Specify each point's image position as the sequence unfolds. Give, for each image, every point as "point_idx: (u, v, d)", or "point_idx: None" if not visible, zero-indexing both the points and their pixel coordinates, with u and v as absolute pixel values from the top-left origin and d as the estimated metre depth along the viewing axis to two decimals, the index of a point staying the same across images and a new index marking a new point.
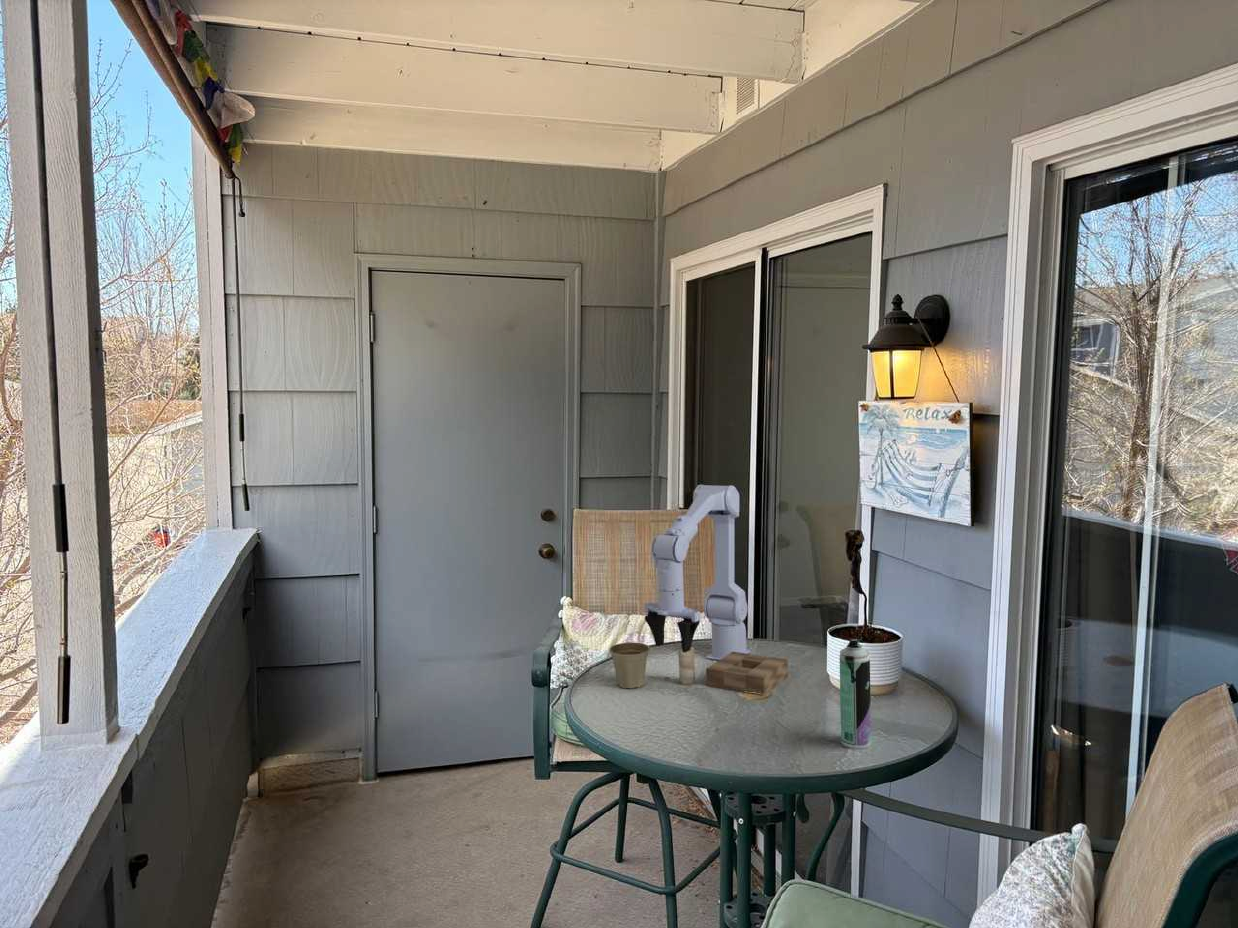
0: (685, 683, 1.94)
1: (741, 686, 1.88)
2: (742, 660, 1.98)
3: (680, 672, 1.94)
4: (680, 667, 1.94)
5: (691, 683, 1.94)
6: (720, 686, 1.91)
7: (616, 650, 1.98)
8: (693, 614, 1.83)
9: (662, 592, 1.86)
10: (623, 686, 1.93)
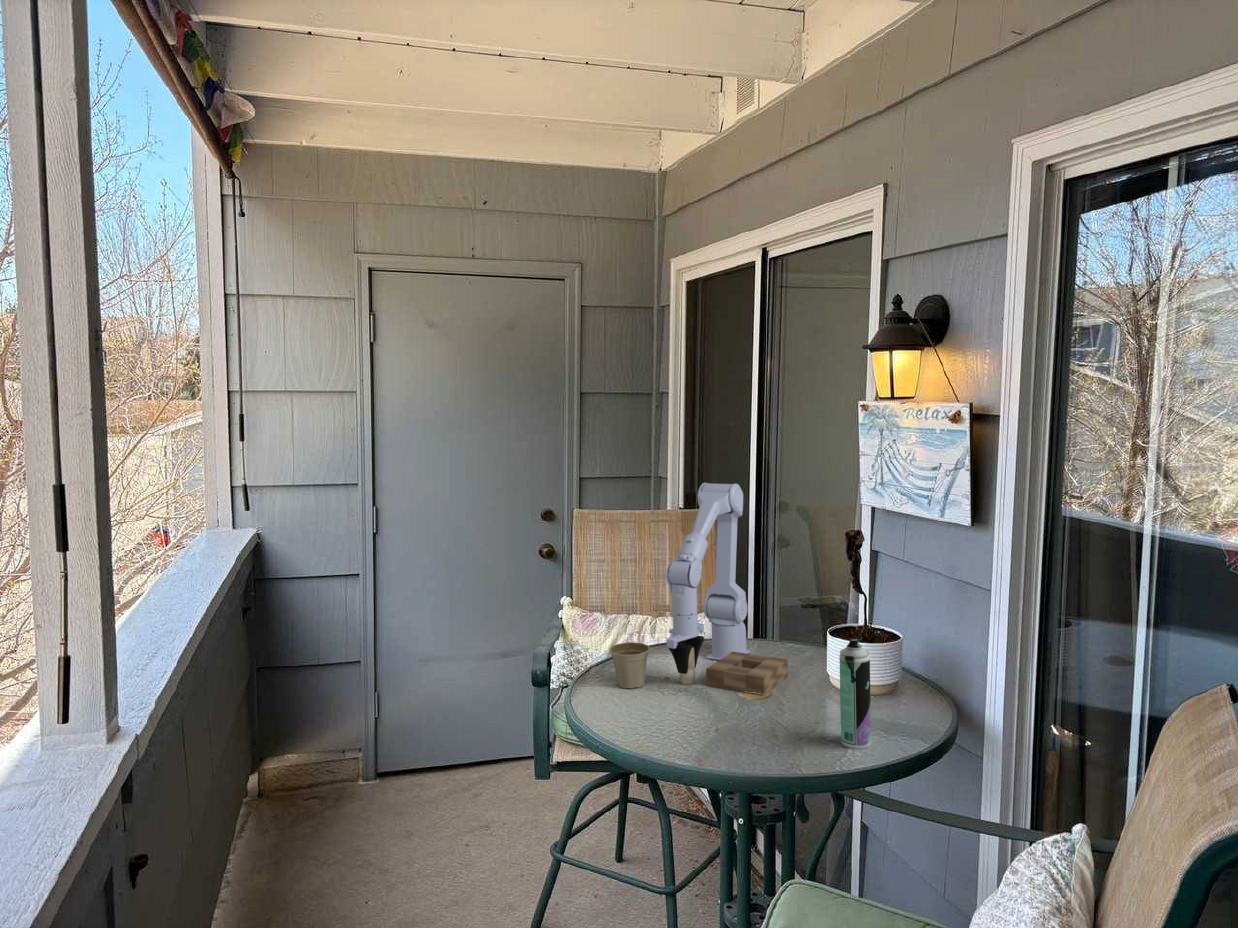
0: (685, 683, 1.94)
1: (741, 686, 1.88)
2: (742, 660, 1.98)
3: None
4: None
5: (691, 683, 1.94)
6: (720, 686, 1.91)
7: (616, 650, 1.98)
8: None
9: None
10: (623, 686, 1.93)
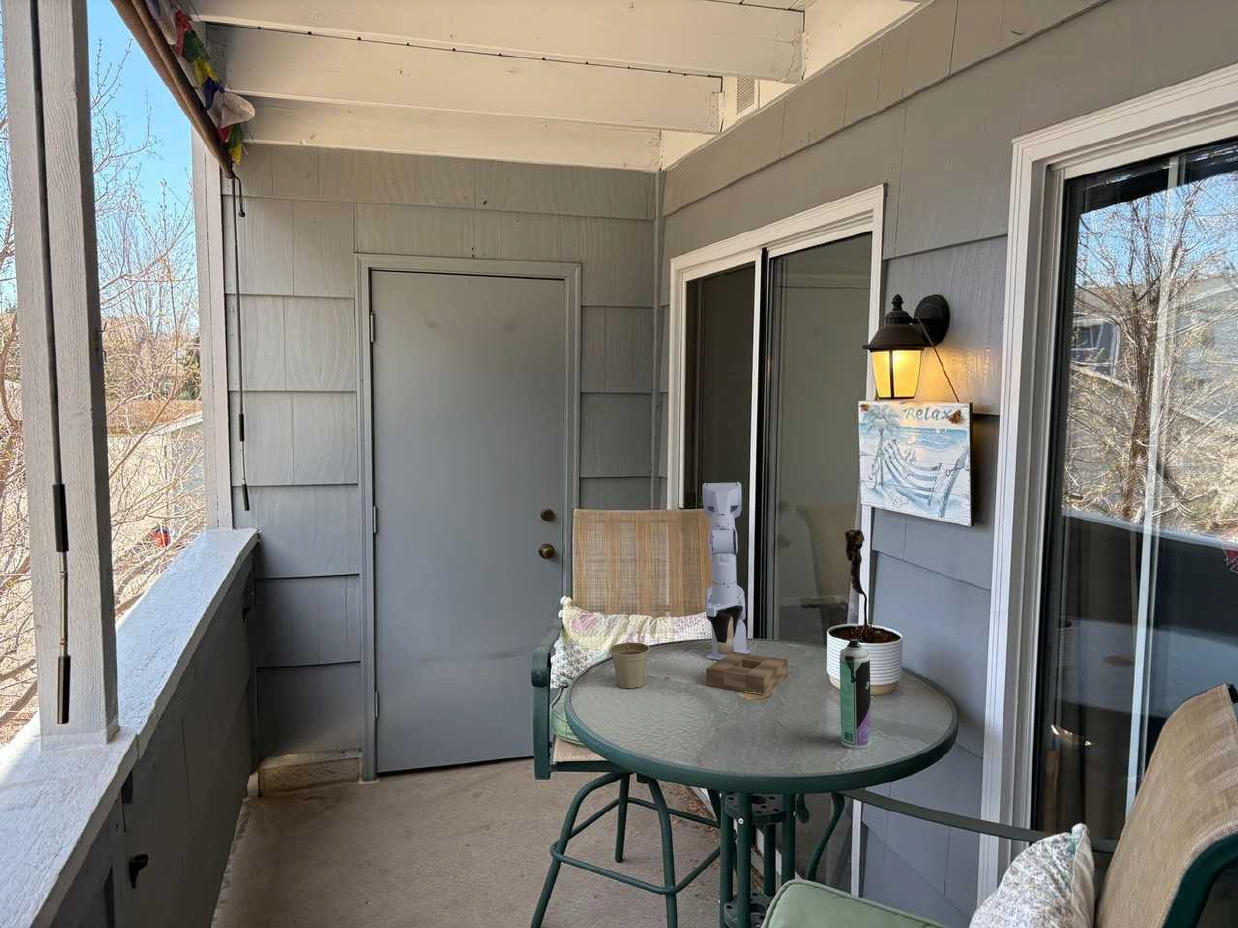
0: (724, 652, 1.93)
1: (741, 686, 1.88)
2: (742, 660, 1.98)
3: None
4: None
5: (730, 652, 1.93)
6: (720, 686, 1.91)
7: (616, 650, 1.98)
8: None
9: None
10: (623, 686, 1.93)
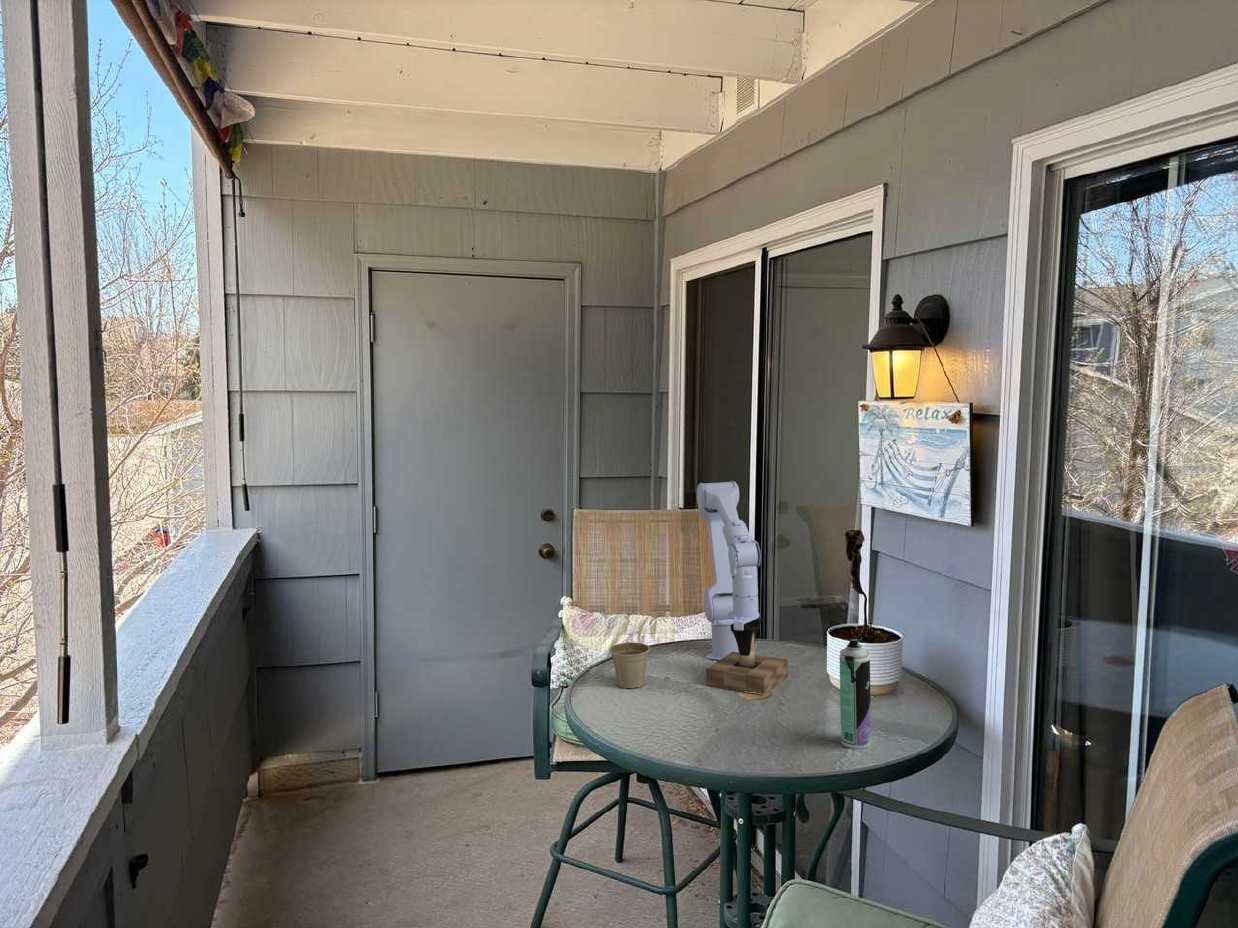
0: (747, 665, 1.93)
1: (741, 686, 1.88)
2: None
3: None
4: None
5: (753, 665, 1.93)
6: (720, 686, 1.91)
7: (616, 650, 1.98)
8: (734, 622, 1.87)
9: None
10: (623, 686, 1.93)
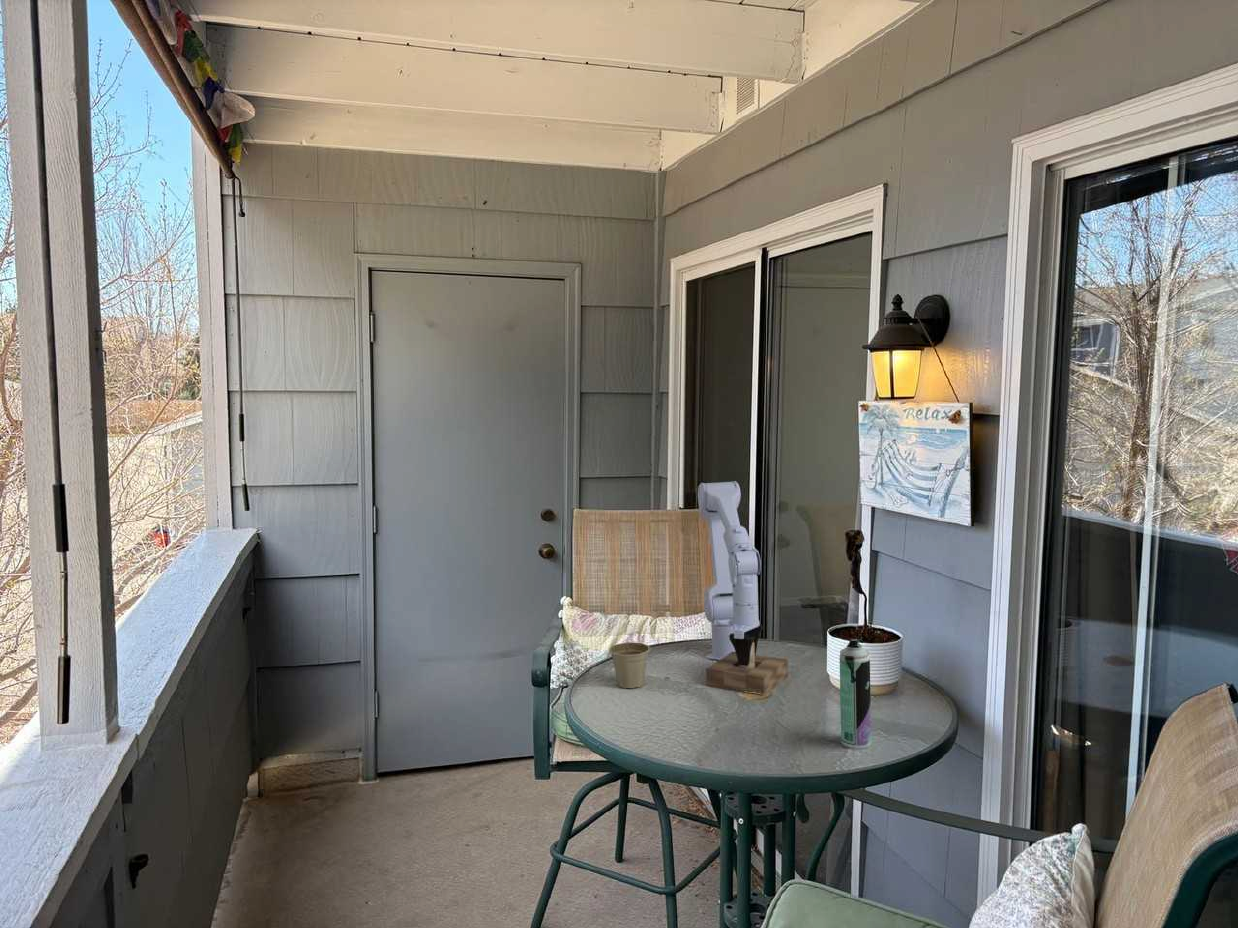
0: None
1: (741, 686, 1.88)
2: None
3: None
4: None
5: None
6: (720, 686, 1.91)
7: (616, 650, 1.98)
8: (734, 630, 1.88)
9: None
10: (623, 686, 1.93)
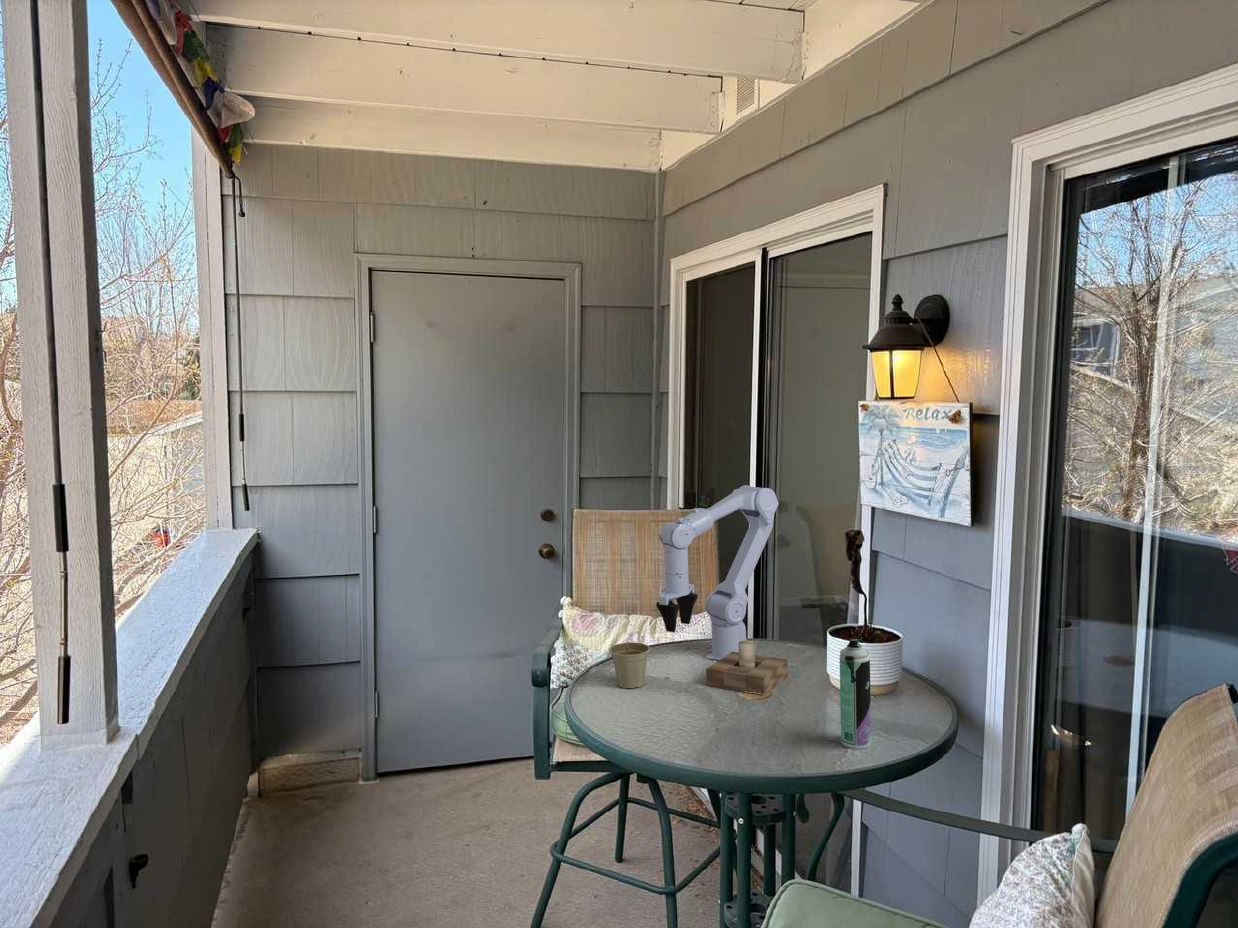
0: None
1: (741, 686, 1.88)
2: None
3: None
4: (742, 662, 1.93)
5: None
6: (720, 686, 1.91)
7: (616, 650, 1.98)
8: None
9: None
10: (623, 686, 1.93)
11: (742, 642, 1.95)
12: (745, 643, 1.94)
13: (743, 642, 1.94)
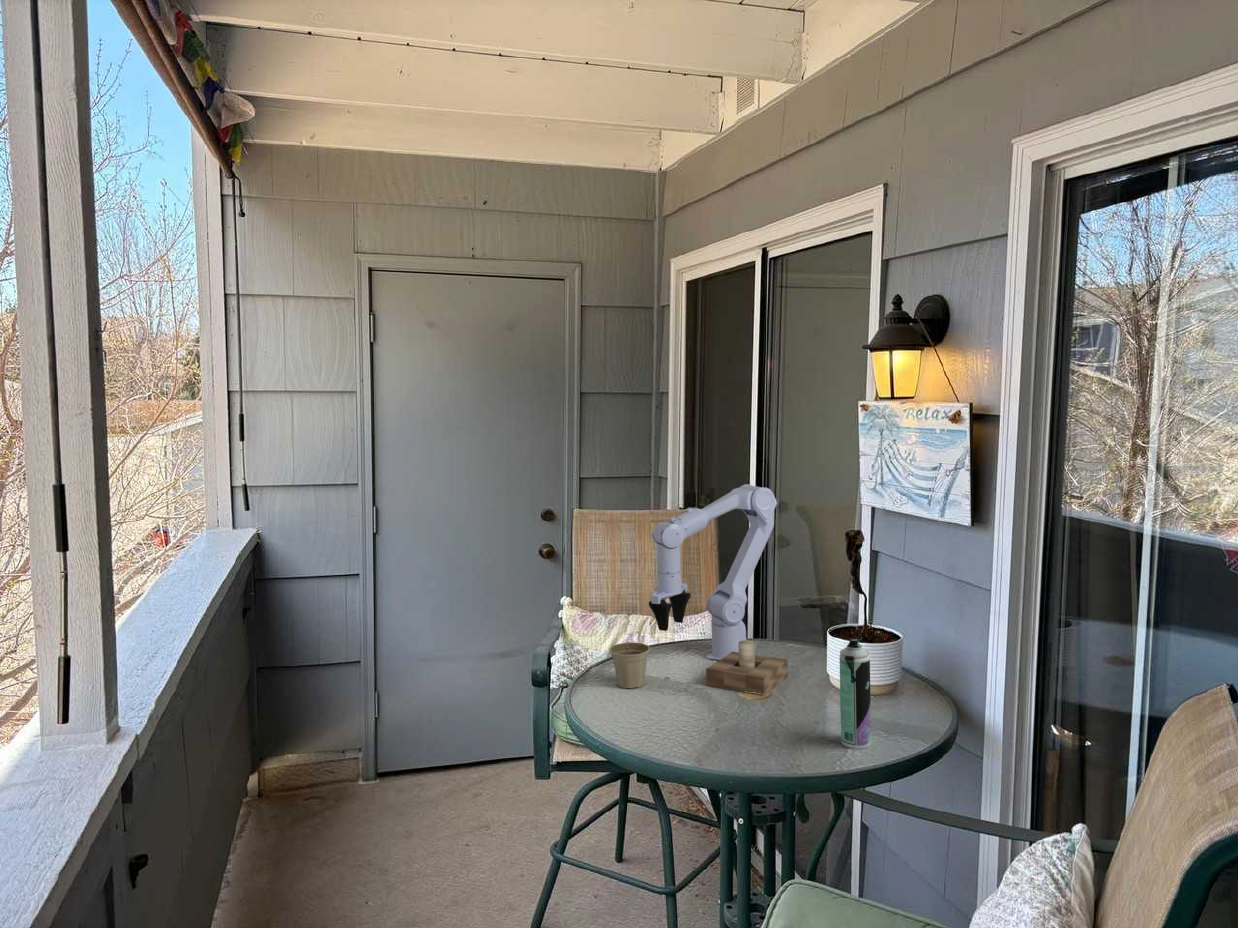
0: None
1: (741, 686, 1.88)
2: None
3: None
4: (742, 661, 1.93)
5: None
6: (720, 686, 1.91)
7: (616, 650, 1.98)
8: None
9: None
10: (623, 686, 1.93)
11: (742, 642, 1.95)
12: (745, 643, 1.94)
13: (743, 642, 1.94)
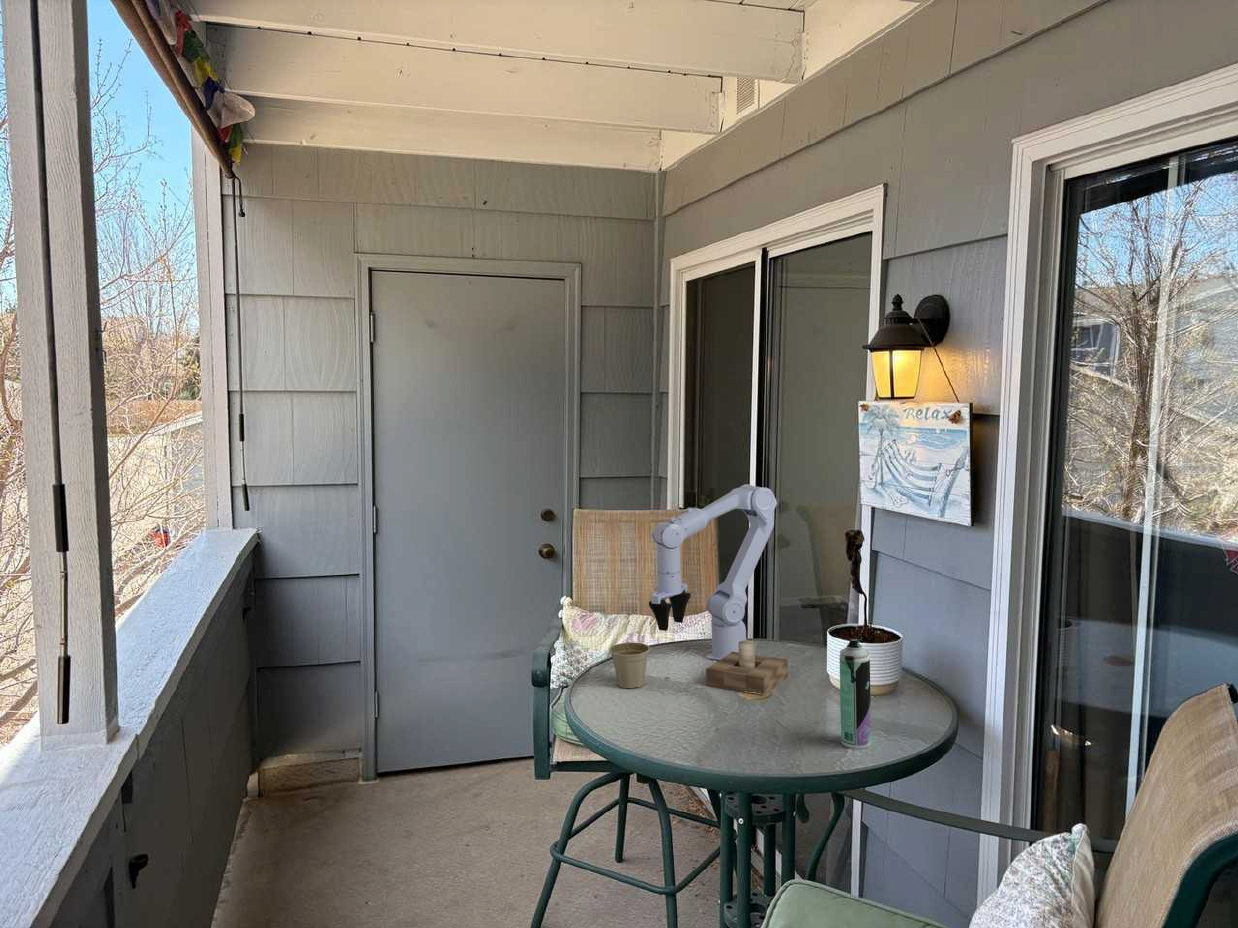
0: None
1: (741, 686, 1.88)
2: None
3: None
4: (742, 661, 1.93)
5: None
6: (720, 686, 1.91)
7: (616, 650, 1.98)
8: None
9: None
10: (623, 686, 1.93)
11: (742, 642, 1.95)
12: (745, 643, 1.94)
13: (744, 642, 1.94)
